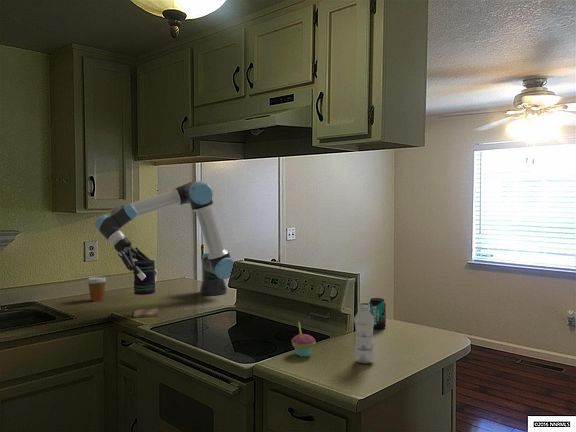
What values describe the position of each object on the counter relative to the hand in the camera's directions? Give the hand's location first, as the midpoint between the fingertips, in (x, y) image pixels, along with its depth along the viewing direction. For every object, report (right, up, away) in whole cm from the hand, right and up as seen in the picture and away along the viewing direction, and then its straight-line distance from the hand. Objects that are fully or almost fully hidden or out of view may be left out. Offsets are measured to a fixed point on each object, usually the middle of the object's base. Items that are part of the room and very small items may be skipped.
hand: (150, 276), depth 234 cm
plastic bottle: (+91, -21, -66) cm, 114 cm away
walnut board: (-2, -18, +2) cm, 18 cm away
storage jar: (-3, -8, +1) cm, 9 cm away
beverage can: (+103, -19, -25) cm, 107 cm away
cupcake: (+71, -21, -57) cm, 93 cm away
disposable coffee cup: (-38, -17, +33) cm, 53 cm away
